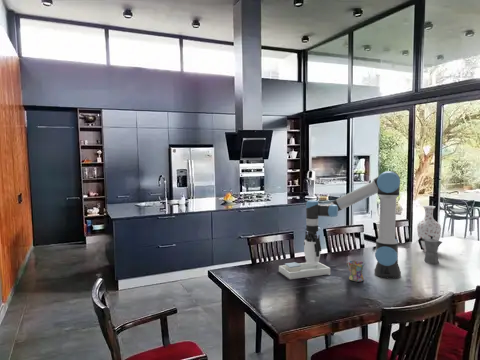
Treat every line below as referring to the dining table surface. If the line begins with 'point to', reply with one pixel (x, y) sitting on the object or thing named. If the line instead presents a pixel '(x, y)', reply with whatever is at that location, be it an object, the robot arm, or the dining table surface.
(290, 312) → the dining table surface
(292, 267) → the lid
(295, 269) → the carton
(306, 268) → the white rectangular tray
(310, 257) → the jar
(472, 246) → the dining table surface
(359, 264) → the candy bag
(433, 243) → the coffeepot
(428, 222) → the vase
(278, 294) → the dining table surface
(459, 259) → the dining table surface
